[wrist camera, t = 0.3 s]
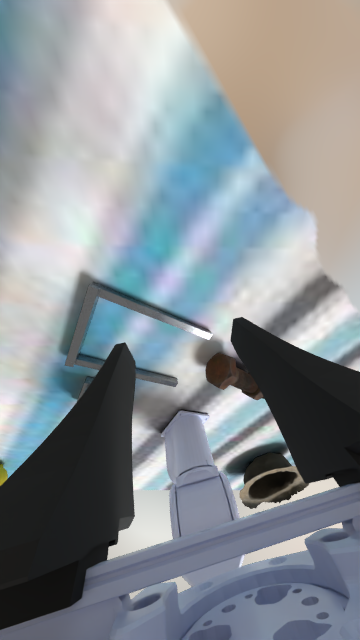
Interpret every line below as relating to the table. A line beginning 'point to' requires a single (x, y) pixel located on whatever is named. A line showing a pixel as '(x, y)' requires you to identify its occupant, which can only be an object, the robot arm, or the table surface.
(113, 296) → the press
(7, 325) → the table surface
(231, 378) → the bolt
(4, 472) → the lemon
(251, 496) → the stone bowl
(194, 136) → the table surface
